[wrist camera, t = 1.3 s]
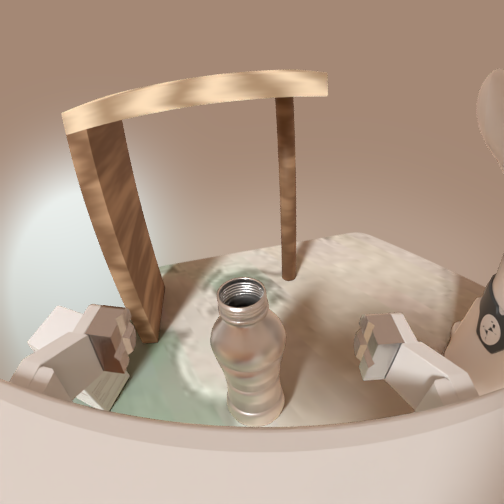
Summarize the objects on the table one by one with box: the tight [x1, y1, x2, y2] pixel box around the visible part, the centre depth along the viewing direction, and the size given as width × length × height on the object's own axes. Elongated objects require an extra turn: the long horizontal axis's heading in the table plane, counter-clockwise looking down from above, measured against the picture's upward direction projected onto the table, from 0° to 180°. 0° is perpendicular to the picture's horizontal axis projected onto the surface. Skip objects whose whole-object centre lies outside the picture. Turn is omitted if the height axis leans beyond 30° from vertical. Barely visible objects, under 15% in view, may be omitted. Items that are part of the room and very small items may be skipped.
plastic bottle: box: [210, 277, 286, 427], centre depth 29 cm, size 6×7×20 cm
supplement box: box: [27, 306, 130, 411], centre depth 34 cm, size 7×7×13 cm
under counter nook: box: [62, 70, 328, 343], centre depth 40 cm, size 27×13×34 cm, turn 97°
